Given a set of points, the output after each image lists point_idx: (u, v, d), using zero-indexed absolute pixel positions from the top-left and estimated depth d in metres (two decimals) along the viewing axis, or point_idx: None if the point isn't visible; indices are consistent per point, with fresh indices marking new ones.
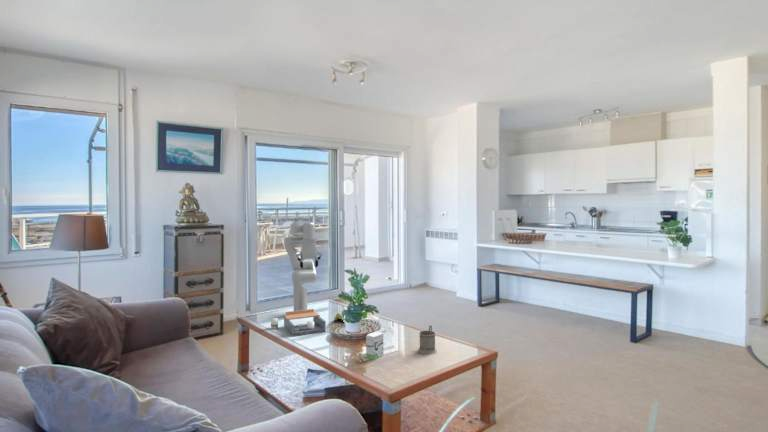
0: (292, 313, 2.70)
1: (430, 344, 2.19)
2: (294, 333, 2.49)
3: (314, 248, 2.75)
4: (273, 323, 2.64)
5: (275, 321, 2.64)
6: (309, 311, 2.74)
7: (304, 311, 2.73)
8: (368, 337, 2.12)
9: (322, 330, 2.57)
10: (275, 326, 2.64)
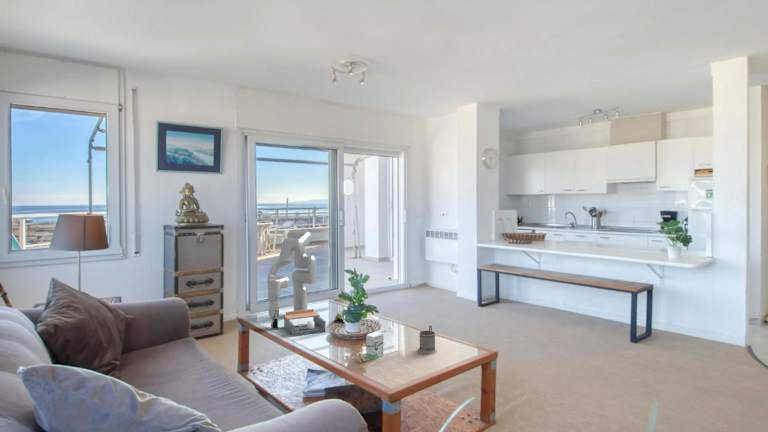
0: (292, 313, 2.70)
1: (430, 344, 2.19)
2: (294, 333, 2.49)
3: None
4: None
5: None
6: (309, 311, 2.74)
7: (304, 311, 2.73)
8: (368, 337, 2.12)
9: (322, 330, 2.57)
10: None
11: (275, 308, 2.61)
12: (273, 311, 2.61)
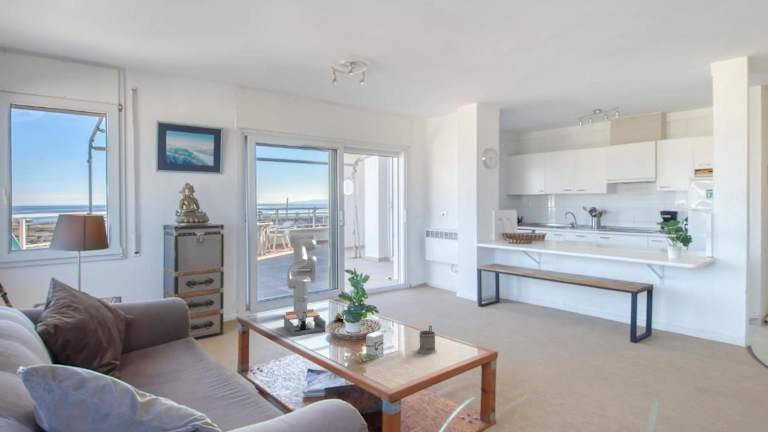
0: (292, 313, 2.70)
1: (430, 344, 2.19)
2: (294, 333, 2.49)
3: None
4: None
5: None
6: (309, 311, 2.74)
7: None
8: (368, 337, 2.12)
9: (322, 330, 2.57)
10: None
11: (303, 309, 2.51)
12: (301, 313, 2.50)
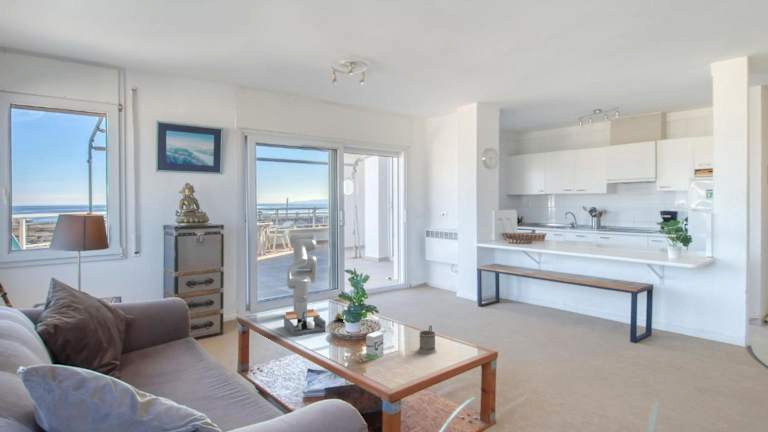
0: (292, 313, 2.70)
1: (430, 344, 2.19)
2: (294, 333, 2.49)
3: None
4: None
5: None
6: (309, 311, 2.74)
7: None
8: (368, 337, 2.12)
9: (322, 330, 2.57)
10: None
11: (303, 309, 2.51)
12: (301, 313, 2.50)
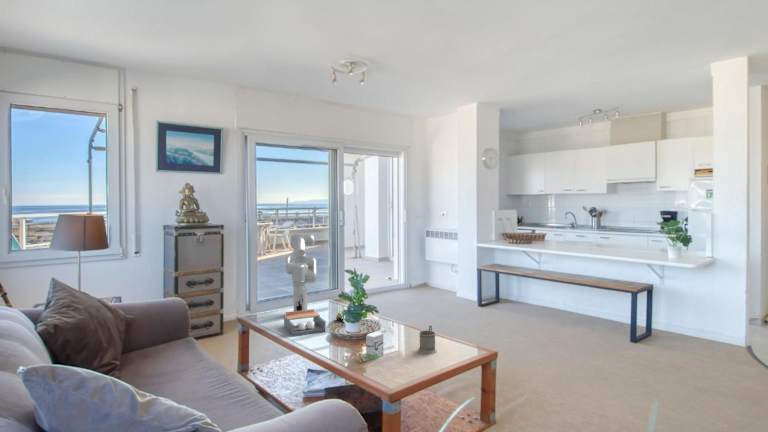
0: (292, 313, 2.69)
1: (430, 344, 2.19)
2: (294, 333, 2.49)
3: None
4: (301, 328, 2.53)
5: (303, 326, 2.54)
6: (309, 311, 2.74)
7: (304, 311, 2.73)
8: (368, 337, 2.12)
9: (322, 330, 2.57)
10: None
11: (300, 293, 2.69)
12: (298, 296, 2.68)
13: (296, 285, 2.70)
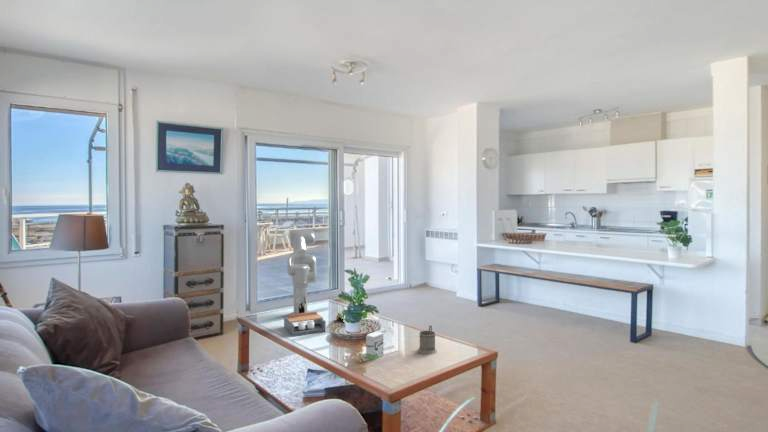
0: (295, 316, 2.63)
1: (430, 344, 2.19)
2: (294, 333, 2.49)
3: None
4: (301, 328, 2.53)
5: (303, 325, 2.54)
6: (312, 313, 2.68)
7: (307, 313, 2.67)
8: (368, 337, 2.12)
9: (322, 330, 2.57)
10: None
11: (303, 295, 2.63)
12: (301, 298, 2.63)
13: (298, 287, 2.64)
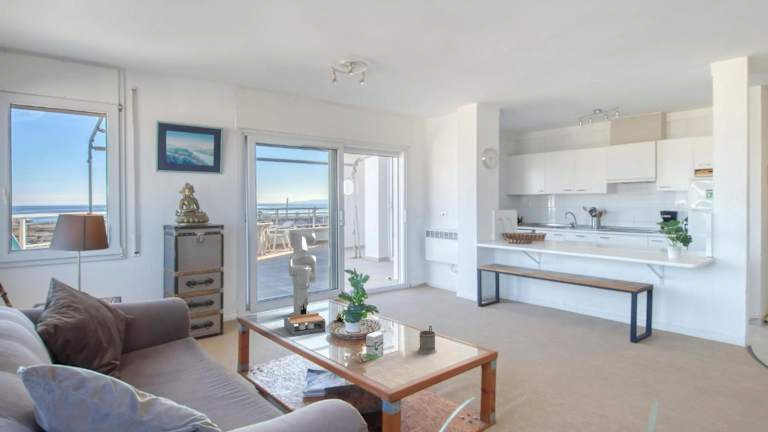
0: (296, 317, 2.60)
1: (430, 344, 2.19)
2: (294, 333, 2.49)
3: None
4: (301, 328, 2.53)
5: (303, 325, 2.54)
6: (314, 315, 2.65)
7: (309, 315, 2.63)
8: (368, 337, 2.12)
9: (322, 330, 2.57)
10: None
11: (305, 296, 2.60)
12: (303, 299, 2.59)
13: (300, 288, 2.60)
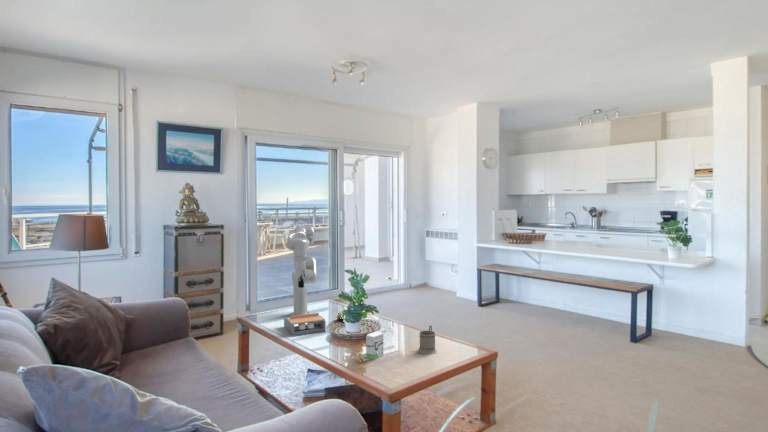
0: (296, 317, 2.60)
1: (430, 344, 2.19)
2: (294, 333, 2.49)
3: None
4: (301, 328, 2.53)
5: (303, 325, 2.54)
6: (314, 315, 2.65)
7: (309, 315, 2.63)
8: (368, 337, 2.12)
9: (322, 330, 2.57)
10: None
11: (302, 268, 2.64)
12: (300, 271, 2.63)
13: (298, 260, 2.65)
